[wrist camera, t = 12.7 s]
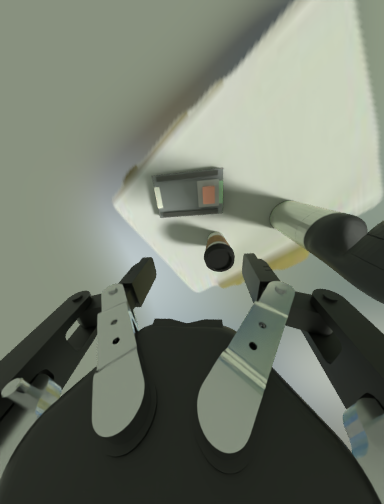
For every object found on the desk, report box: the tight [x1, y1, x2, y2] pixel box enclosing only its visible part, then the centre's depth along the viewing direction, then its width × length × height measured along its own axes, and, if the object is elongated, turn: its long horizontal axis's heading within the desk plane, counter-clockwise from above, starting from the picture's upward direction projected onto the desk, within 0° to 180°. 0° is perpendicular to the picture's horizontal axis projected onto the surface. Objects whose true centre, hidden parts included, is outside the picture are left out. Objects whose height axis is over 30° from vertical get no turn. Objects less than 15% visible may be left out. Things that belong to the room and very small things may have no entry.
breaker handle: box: [197, 179, 219, 207], centre depth 37 cm, size 6×7×6 cm
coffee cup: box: [204, 232, 235, 272], centre depth 43 cm, size 8×8×15 cm
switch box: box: [152, 168, 223, 218], centre depth 41 cm, size 20×12×4 cm, turn 95°
